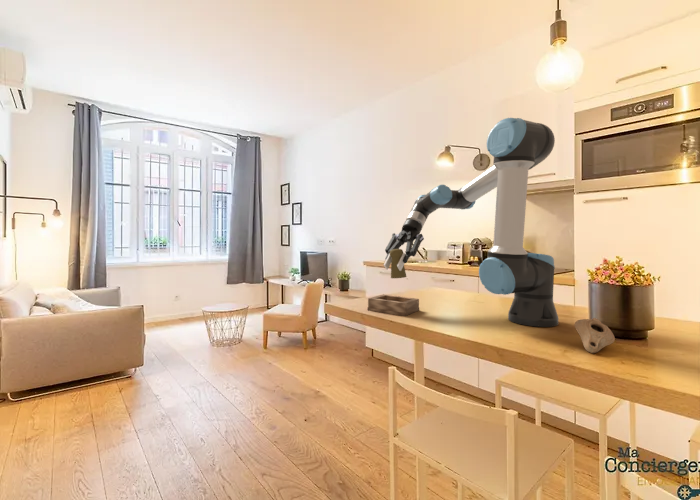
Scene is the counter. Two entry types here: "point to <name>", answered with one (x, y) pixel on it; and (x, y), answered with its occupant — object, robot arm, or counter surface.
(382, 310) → the brown tray
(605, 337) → the pottery oil lamp
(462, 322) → the counter surface
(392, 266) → the cork
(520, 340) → the counter surface
